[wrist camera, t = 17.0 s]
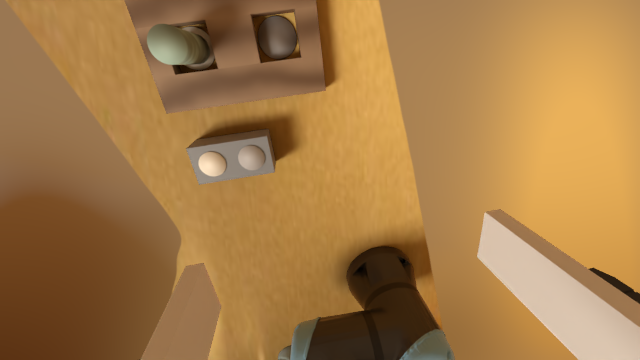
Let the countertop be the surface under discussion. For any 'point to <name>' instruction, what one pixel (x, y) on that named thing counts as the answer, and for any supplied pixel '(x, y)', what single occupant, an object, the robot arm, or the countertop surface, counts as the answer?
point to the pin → (177, 45)
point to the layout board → (234, 51)
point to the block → (232, 156)
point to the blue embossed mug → (285, 354)
